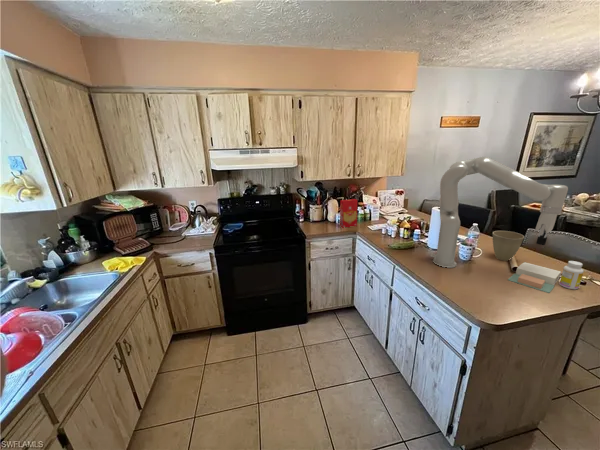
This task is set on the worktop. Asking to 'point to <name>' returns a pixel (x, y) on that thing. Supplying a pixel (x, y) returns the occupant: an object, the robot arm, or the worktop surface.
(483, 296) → the worktop surface
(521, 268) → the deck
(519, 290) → the worktop surface
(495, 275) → the worktop surface
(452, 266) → the robot arm
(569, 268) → the supplement bottle
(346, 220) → the food packaging
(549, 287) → the mat
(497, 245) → the plant pot
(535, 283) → the tile
